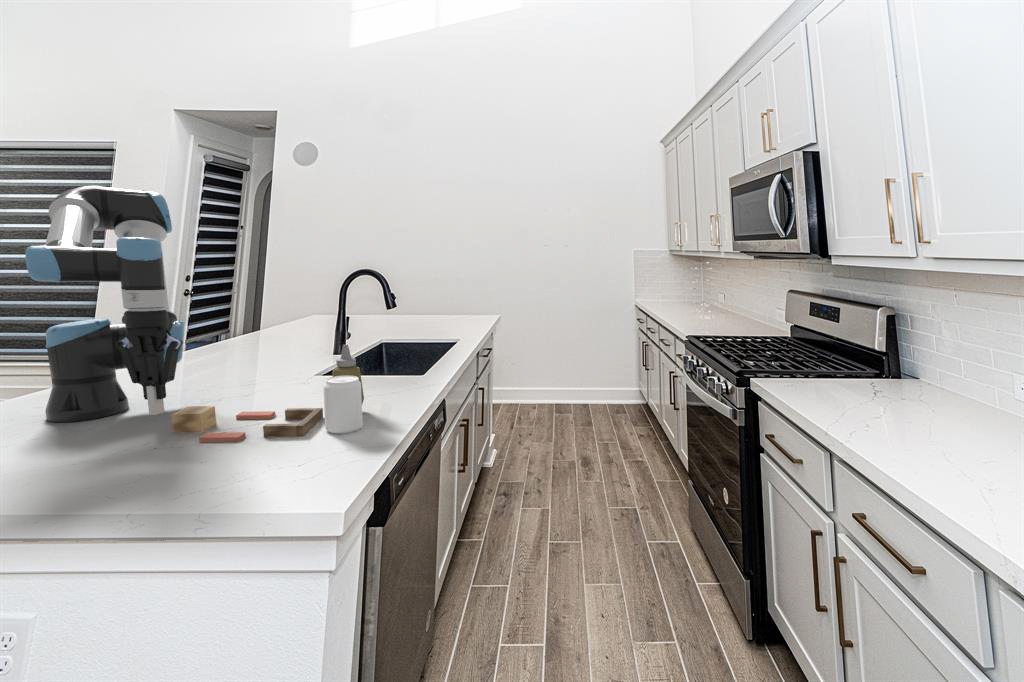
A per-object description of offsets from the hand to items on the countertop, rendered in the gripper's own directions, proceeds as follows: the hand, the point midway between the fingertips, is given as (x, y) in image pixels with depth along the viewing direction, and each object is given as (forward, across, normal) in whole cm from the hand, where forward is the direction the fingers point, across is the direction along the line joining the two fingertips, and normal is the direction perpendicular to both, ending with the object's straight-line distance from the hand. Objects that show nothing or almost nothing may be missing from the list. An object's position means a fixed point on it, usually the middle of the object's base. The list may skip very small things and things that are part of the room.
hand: (156, 412), depth 101 cm
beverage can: (+4, +42, -2) cm, 42 cm away
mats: (+4, +18, 0) cm, 18 cm away
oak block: (+4, +8, 0) cm, 9 cm away
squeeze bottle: (+4, +40, +10) cm, 41 cm away
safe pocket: (+4, +30, 0) cm, 30 cm away
